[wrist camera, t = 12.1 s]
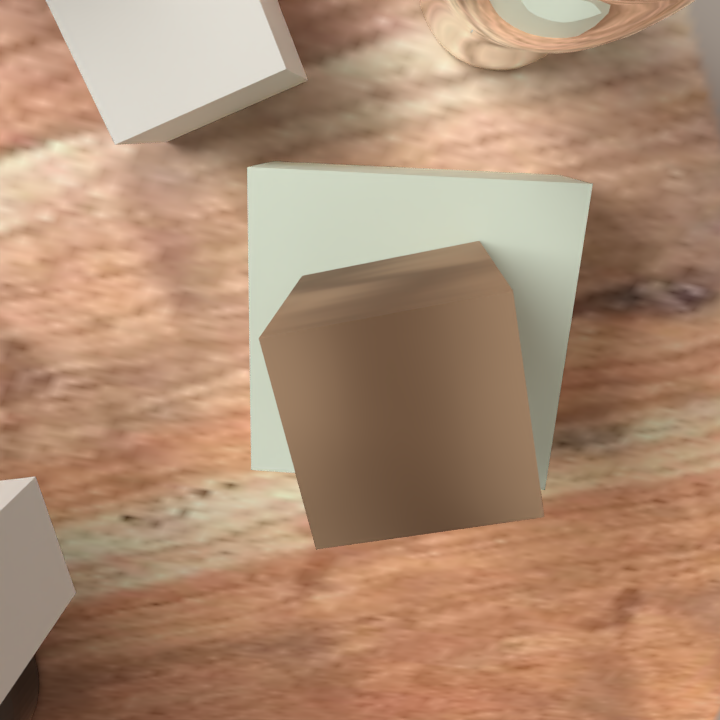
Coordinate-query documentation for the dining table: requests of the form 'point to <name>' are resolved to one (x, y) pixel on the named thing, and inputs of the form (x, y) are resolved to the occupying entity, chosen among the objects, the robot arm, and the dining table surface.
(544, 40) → the beer glass
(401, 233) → the pedestal block
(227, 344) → the dining table surface
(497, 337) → the walnut block
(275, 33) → the grey block
